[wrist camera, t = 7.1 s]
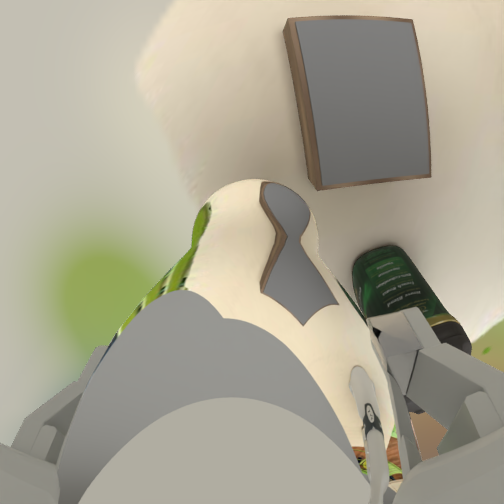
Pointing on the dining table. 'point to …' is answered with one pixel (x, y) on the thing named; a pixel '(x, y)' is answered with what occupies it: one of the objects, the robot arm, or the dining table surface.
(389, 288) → the coffee jar
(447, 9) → the dining table surface
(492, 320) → the dining table surface
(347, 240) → the dining table surface
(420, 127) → the walnut plinth
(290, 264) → the beer glass
